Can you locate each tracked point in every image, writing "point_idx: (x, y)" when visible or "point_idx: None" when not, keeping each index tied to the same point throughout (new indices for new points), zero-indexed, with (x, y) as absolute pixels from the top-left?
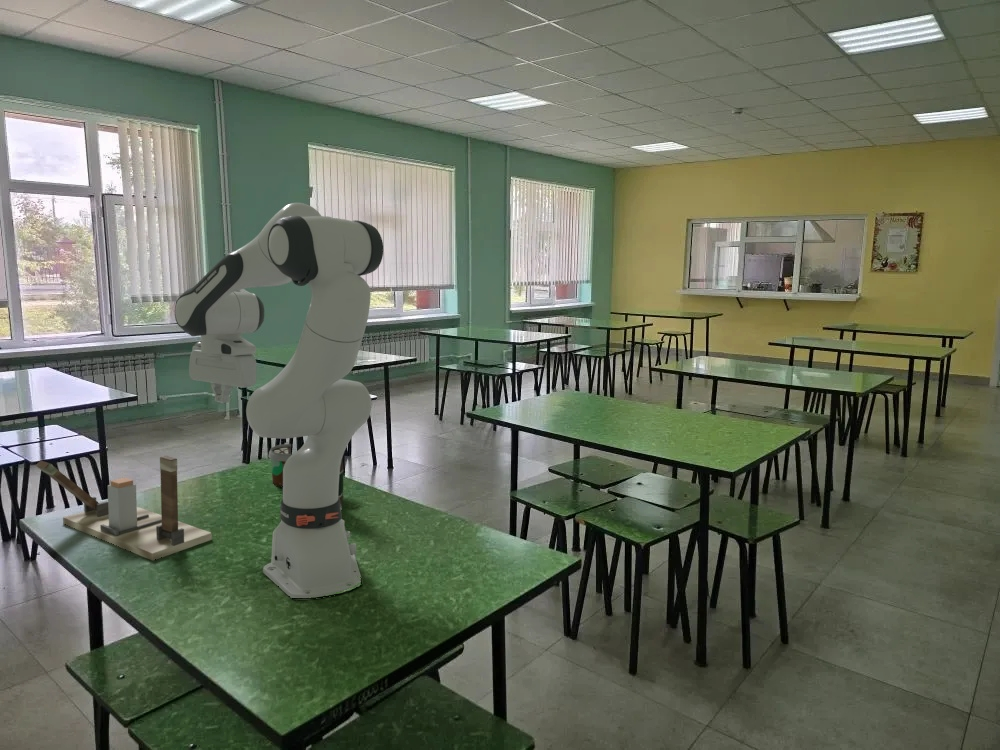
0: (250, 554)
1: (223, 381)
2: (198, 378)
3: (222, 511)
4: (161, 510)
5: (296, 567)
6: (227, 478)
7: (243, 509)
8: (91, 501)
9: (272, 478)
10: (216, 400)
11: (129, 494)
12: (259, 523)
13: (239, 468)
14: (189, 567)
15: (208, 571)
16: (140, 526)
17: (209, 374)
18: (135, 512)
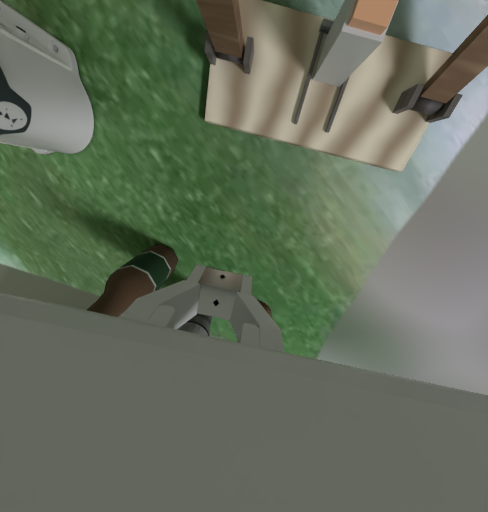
0: (132, 101)
1: (54, 328)
2: (439, 398)
3: (261, 214)
4: (240, 18)
5: None
6: (324, 303)
7: (244, 229)
8: (437, 73)
9: (267, 309)
10: (239, 274)
11: (340, 22)
12: (197, 198)
13: (330, 331)
14: (158, 8)
15: (127, 10)
16: (306, 79)
17: (287, 447)
18: (321, 63)
